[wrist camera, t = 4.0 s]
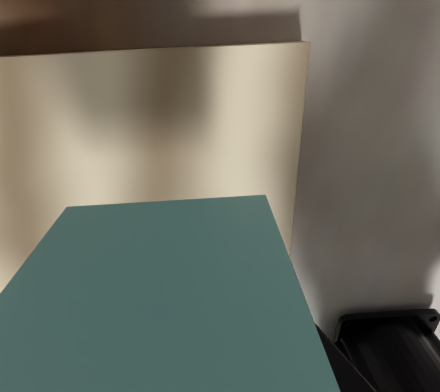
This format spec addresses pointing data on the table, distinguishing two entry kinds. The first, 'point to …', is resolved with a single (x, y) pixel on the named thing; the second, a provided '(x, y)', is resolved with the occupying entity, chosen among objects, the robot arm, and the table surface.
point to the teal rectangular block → (161, 304)
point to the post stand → (146, 132)
